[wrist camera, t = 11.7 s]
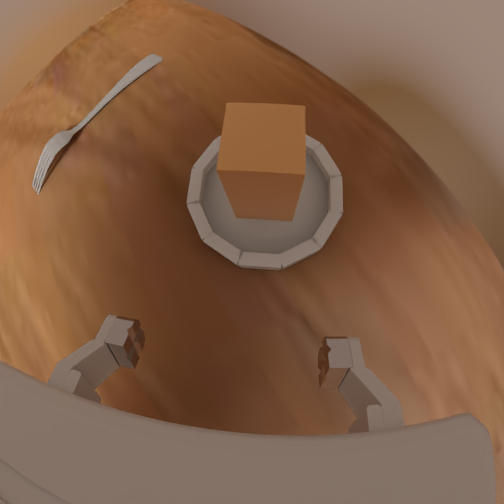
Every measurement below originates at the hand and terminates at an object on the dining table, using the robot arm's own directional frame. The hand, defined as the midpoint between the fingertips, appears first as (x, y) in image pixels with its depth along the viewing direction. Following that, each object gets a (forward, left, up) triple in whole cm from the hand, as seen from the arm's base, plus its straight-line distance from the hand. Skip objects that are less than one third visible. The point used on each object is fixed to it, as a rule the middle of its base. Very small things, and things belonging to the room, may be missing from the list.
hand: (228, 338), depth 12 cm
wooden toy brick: (+1, +9, -7) cm, 12 cm away
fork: (-18, +18, -9) cm, 27 cm away
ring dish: (+1, +9, -8) cm, 12 cm away
